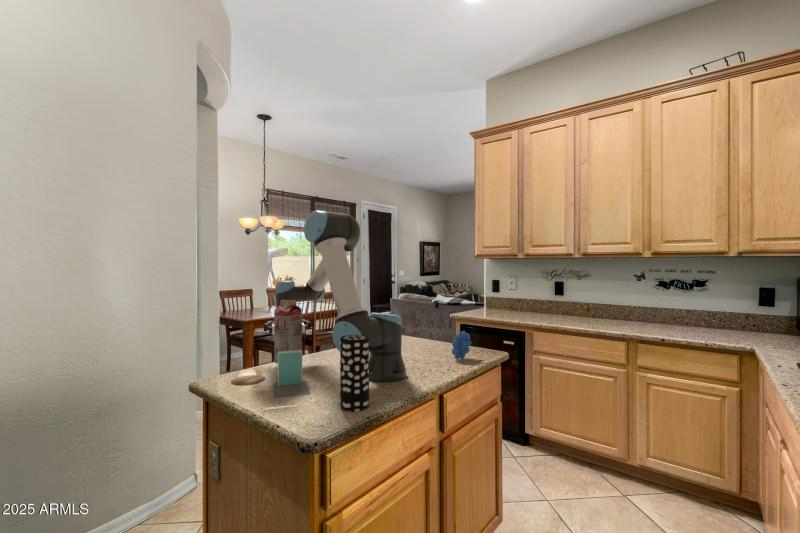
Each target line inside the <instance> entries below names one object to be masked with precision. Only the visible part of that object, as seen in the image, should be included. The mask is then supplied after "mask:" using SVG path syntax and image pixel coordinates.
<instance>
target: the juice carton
mask: <svg viewBox="0 0 800 533" xmlns="http://www.w3.org/2000/svg"><path fill="white" fill-rule="evenodd" d="M296 304H297V302H296V301H294V300H281V305H279V306H278V307H277V308H276V307H275V309H274V313H273V314H274V315H273V316H274V318H273V319H274V320H273V322H274V325H275V335H273V336H274V342H273V343H274V348H273V349H274V352H273V353H274V363H275V364H278V351H292V350H302V351H303V348H302V347H303V343H302V342H303V339H302V338H303V333H302V319H303V315H302V314H303V312H302V311H303V309H302V308H301V307H300V306H298V305H296Z"/></svg>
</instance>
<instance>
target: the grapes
mask: <svg viewBox="0 0 800 533" xmlns="http://www.w3.org/2000/svg"><path fill="white" fill-rule="evenodd" d="M451 345H452V347H453V348H452V349H451V353H452V355H453V356H454V359H456V360H458V359H461V358H463V359H464V358H465V357H466V355H467V354H468V353H469V352H470V347H471V345H472V341H471V335H470V333H467V332H466V331H465V330H462V331H461V332H460V333H457V334H456V335H455V339H453V341H452V343H451Z"/></svg>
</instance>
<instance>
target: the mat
mask: <svg viewBox="0 0 800 533" xmlns="http://www.w3.org/2000/svg"><path fill="white" fill-rule="evenodd" d="M272 389H273V390H272V393H273V394H272V395H273V398H272V399H278V398H287V397H296V396H297V397H298V396H305V395H311V391H310V388H309V386H308V382H307V380H306V379H305V380H303V379H302V383H299V384H289V385H279V386H278V382H274V383H272Z"/></svg>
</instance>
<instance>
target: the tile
mask: <svg viewBox="0 0 800 533" xmlns="http://www.w3.org/2000/svg"><path fill="white" fill-rule="evenodd" d="M302 381H303V349H302V350H292V351H278V363H277V383H278V386H279V385H289V384H299V383H302Z"/></svg>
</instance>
